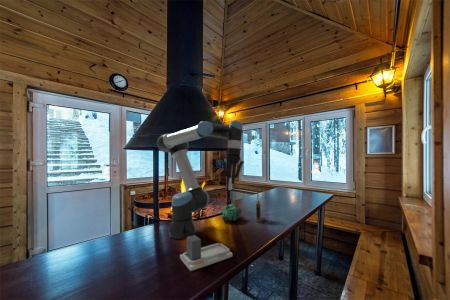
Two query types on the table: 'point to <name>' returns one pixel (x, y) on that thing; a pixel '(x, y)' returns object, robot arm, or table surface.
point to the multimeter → (258, 211)
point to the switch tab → (193, 247)
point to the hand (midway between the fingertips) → (230, 189)
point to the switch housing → (207, 256)
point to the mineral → (231, 213)
